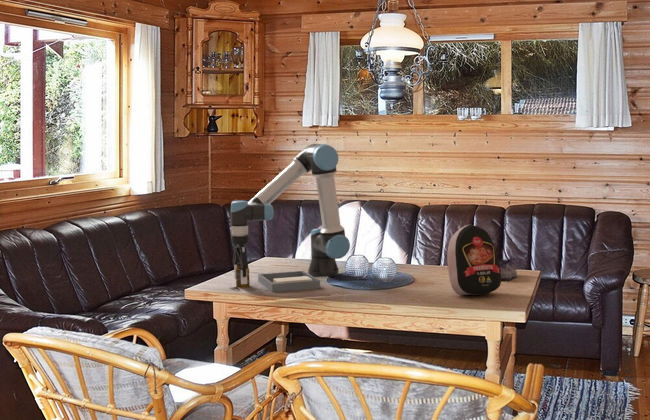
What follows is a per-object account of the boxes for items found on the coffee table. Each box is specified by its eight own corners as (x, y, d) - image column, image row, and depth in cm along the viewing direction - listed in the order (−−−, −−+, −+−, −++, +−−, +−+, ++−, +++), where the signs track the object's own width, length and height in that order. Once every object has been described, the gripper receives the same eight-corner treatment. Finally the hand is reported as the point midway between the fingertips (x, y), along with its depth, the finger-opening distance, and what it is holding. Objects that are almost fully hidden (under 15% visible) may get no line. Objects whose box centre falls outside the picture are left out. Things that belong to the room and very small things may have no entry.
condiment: (253, 288, 400) (252, 262, 399) (236, 291, 395) (235, 264, 394) (245, 286, 406) (244, 260, 405) (229, 288, 401) (228, 262, 400)
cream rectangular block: (307, 284, 402) (306, 276, 401) (312, 287, 394) (312, 279, 394) (273, 287, 397) (273, 278, 396) (277, 290, 389) (277, 281, 389)
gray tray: (303, 280, 418) (303, 270, 417) (320, 290, 393) (319, 280, 393) (258, 283, 411) (258, 274, 411) (272, 294, 387) (272, 284, 386)
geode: (497, 273, 429) (500, 253, 427) (520, 278, 423) (523, 258, 422) (484, 279, 411) (487, 258, 409) (508, 284, 405) (511, 263, 404)
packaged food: (463, 301, 367) (464, 230, 364) (439, 292, 385) (439, 224, 382) (507, 296, 376) (508, 226, 372) (481, 288, 394) (482, 221, 390)
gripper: (226, 231, 408) (227, 277, 411) (237, 239, 385) (238, 286, 387) (241, 231, 411) (242, 275, 413) (254, 238, 387) (255, 285, 390)
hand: (240, 281), depth 400 cm, fingers open, 13 cm apart
